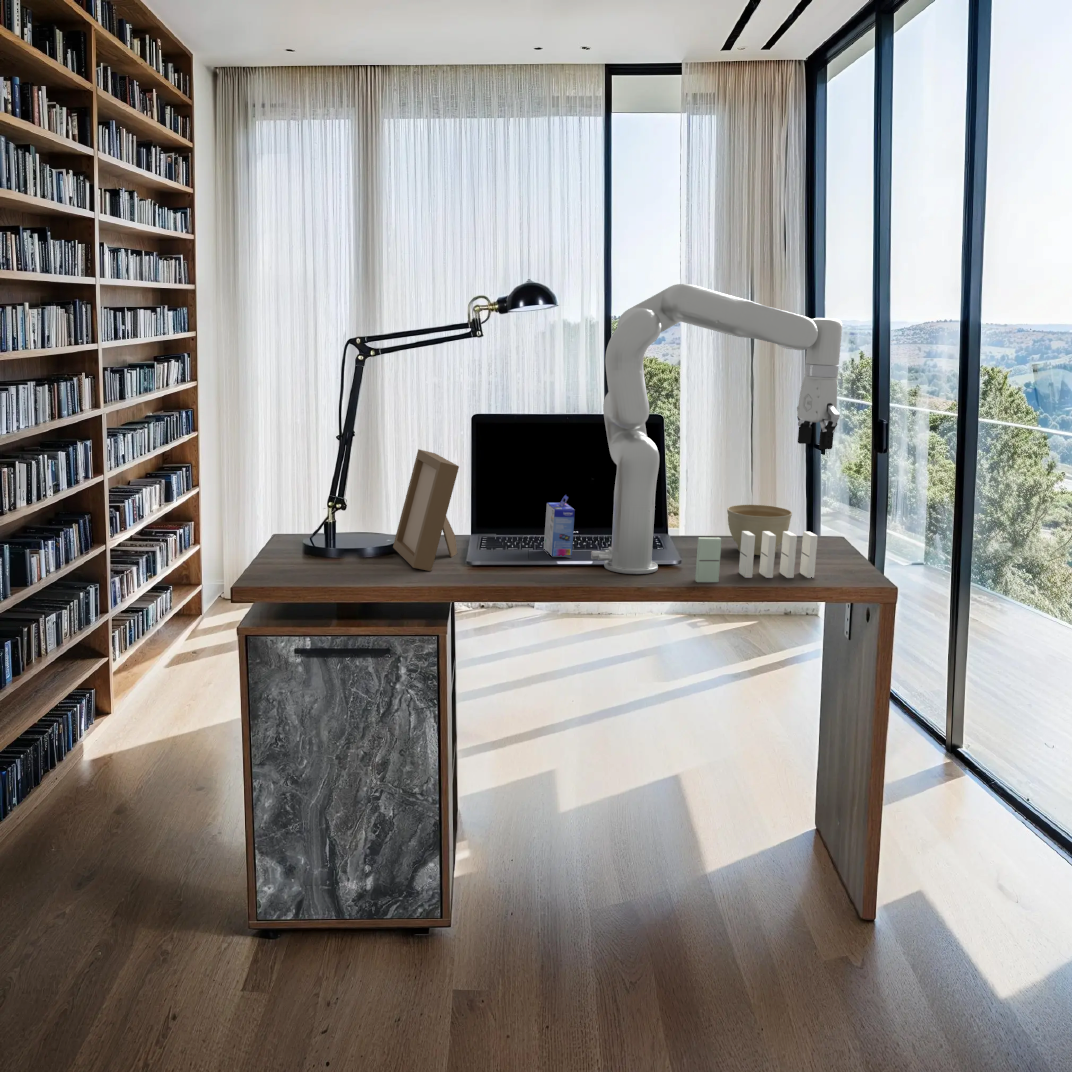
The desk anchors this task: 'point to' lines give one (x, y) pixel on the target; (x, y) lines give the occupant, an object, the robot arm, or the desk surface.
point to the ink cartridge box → (559, 528)
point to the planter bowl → (758, 522)
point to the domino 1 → (708, 559)
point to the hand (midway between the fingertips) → (814, 446)
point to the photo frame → (426, 511)
